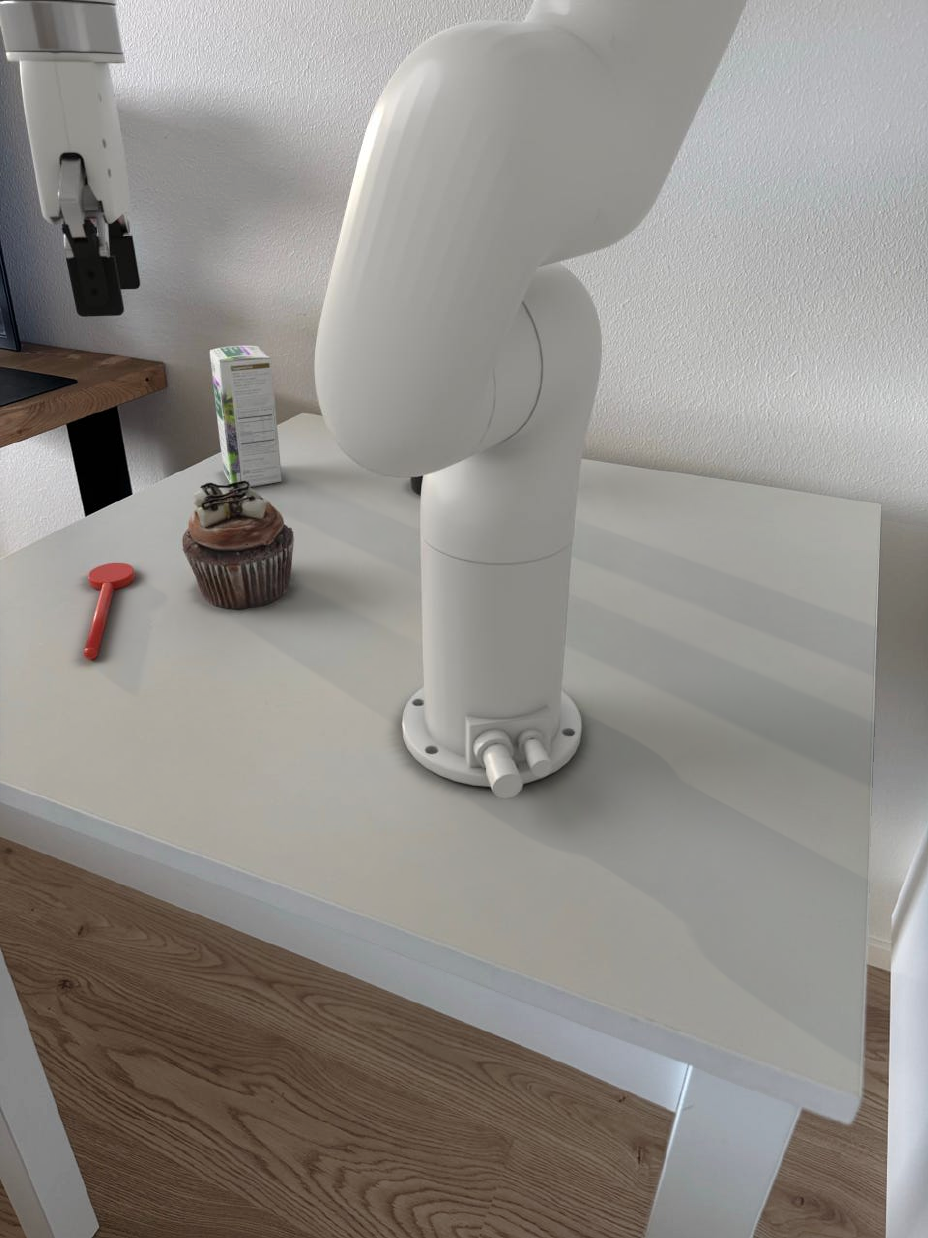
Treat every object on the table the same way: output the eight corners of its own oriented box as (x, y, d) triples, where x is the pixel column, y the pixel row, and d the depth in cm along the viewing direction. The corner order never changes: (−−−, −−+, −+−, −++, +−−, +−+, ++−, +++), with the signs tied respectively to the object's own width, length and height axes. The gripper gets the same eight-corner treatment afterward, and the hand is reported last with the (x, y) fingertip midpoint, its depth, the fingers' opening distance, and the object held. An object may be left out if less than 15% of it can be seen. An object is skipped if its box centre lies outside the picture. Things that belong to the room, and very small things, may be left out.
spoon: (117, 658, 72) (115, 648, 71) (64, 664, 71) (61, 653, 71) (137, 568, 85) (135, 558, 85) (92, 572, 85) (90, 562, 84)
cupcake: (314, 598, 80) (304, 494, 75) (204, 624, 77) (186, 515, 71) (281, 556, 88) (270, 457, 83) (179, 577, 84) (162, 475, 79)
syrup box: (222, 473, 106) (205, 348, 99) (272, 465, 108) (259, 342, 101) (233, 490, 102) (216, 360, 94) (285, 482, 104) (272, 354, 97)
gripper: (32, 41, 68) (80, 281, 76) (-33, 30, 53) (35, 329, 62) (137, 42, 69) (172, 279, 78) (101, 33, 54) (149, 325, 63)
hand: (111, 301), depth 70 cm, fingers open, 9 cm apart
